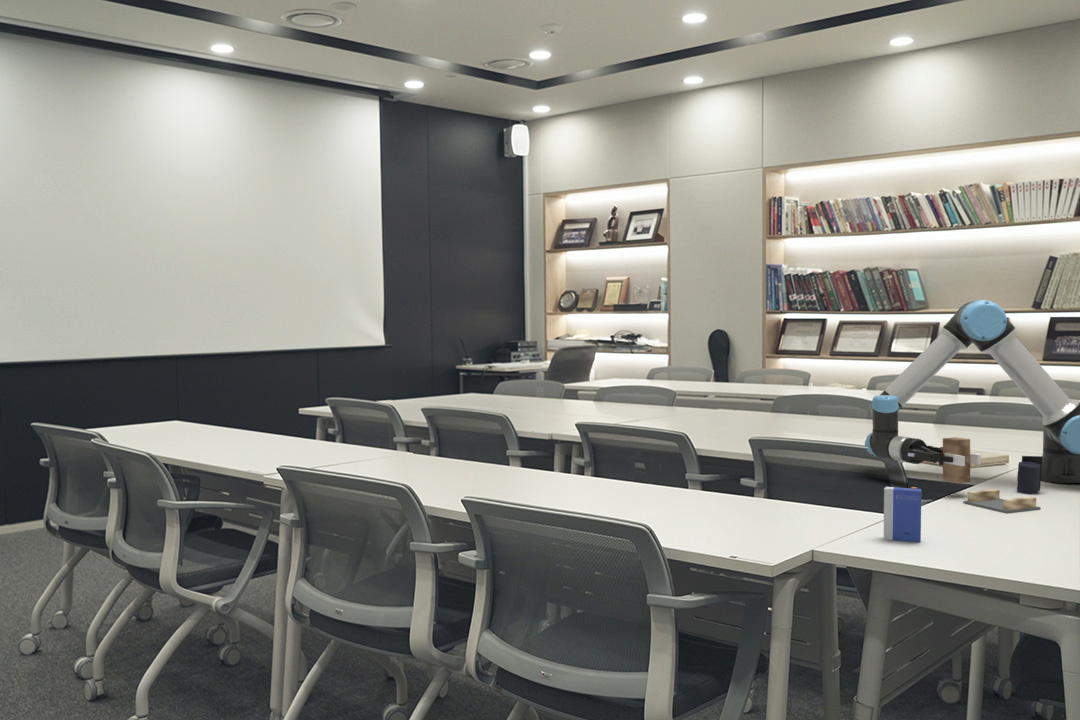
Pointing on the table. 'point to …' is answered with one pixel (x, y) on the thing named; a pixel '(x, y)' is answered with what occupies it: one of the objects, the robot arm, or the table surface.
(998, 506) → the mat
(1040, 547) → the table surface
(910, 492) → the walkman
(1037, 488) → the speaker
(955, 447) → the brown wooden block
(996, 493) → the end caps
